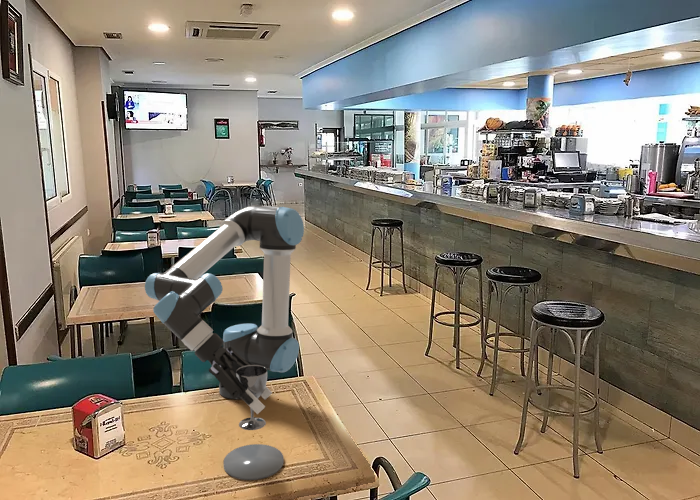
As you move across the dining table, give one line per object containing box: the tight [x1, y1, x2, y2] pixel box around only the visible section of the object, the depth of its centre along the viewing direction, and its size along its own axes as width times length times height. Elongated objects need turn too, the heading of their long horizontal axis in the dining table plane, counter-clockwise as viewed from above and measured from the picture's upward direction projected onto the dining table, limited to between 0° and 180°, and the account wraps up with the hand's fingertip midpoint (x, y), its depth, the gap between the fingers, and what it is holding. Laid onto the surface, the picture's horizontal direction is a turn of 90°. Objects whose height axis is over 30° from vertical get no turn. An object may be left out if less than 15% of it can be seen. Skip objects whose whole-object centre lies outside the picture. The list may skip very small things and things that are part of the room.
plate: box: [223, 443, 285, 481], centre depth 156 cm, size 16×16×1 cm
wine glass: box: [236, 365, 268, 431], centre depth 153 cm, size 8×8×15 cm
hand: (265, 403), depth 153 cm, fingers closed on wine glass, 8 cm apart
